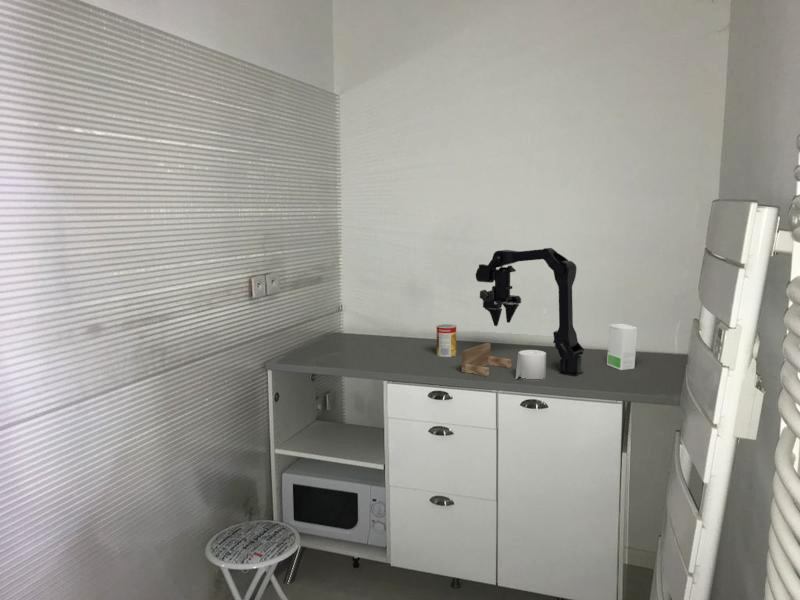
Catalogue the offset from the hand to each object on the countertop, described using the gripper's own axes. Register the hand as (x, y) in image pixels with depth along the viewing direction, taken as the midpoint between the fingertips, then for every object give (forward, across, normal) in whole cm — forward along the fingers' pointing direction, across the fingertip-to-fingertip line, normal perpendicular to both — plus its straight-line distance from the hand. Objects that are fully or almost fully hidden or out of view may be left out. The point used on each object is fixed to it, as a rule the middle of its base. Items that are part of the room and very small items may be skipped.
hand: (502, 324), depth 246 cm
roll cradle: (+15, +14, +2) cm, 20 cm away
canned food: (+15, +3, -24) cm, 28 cm away
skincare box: (+15, -19, +39) cm, 46 cm away
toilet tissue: (+15, +14, +19) cm, 28 cm away
